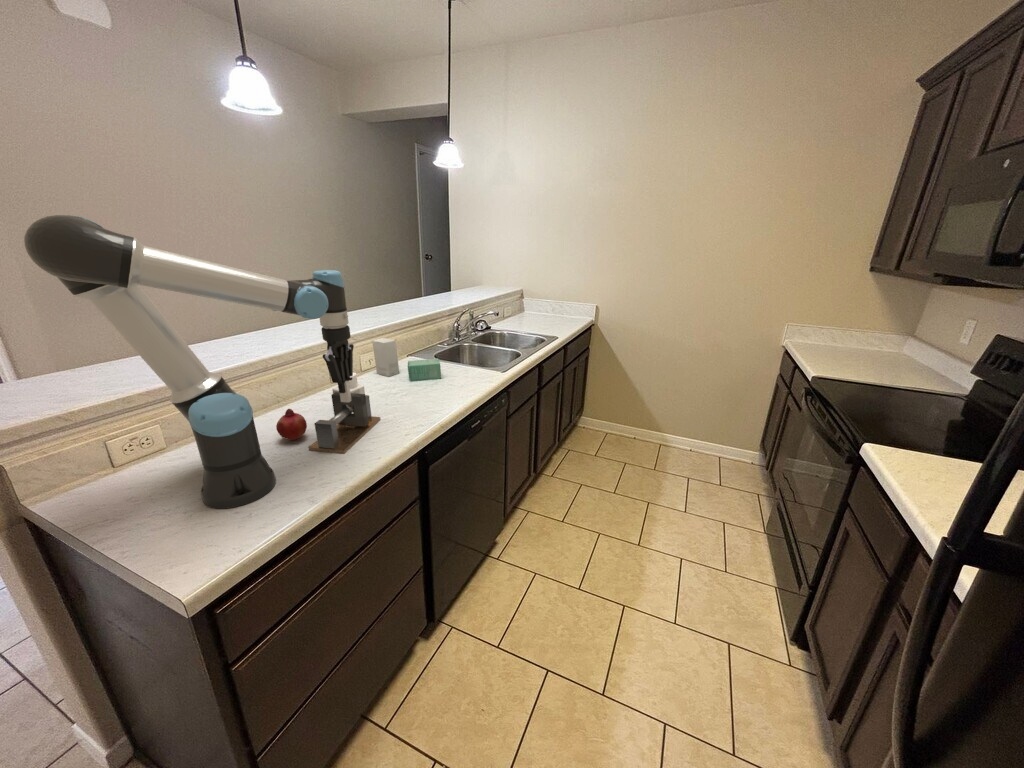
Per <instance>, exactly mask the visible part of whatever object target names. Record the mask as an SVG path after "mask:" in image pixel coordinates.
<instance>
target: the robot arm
mask: <svg viewBox="0 0 1024 768" xmlns="http://www.w3.org/2000/svg"><path fill="white" fill-rule="evenodd" d="M23 241H24V248H25V250H26V253H27V255H28V256H29V258H30V259H31V260H32V262H33V263H34V264H35V265H36V266H37V267H39V268H40V269H42V270H43V271H45V272H46V273H47V274H49V275H50V276H53V277H56V278H57V279H58V280H59V281H60V282H61V284H62V285H63V286H64V287H66V289H68V291H69V292H70V293H71V294H72V295H73V296H74V297H76V298H80V299H84V300H88V301H90V302H91V303H92V305H94V306H95V307H96V309H97V310H98V311H99V312H100V313H101V314H102V315H103V316H104V317H105V319H107V321H108V322H109V323H110V324H111V326H112V327H113V328H114V329H115V330H116V331H117V332H118V333H119V334H120V336H122V338H123V339H124V340H125V341H126V343H128V344H129V346H130V347H131V348H132V349H133V350H134V351H135V352H136V353H137V355H139V356H140V358H141V359H142V360H143V361H144V362H145V363H146V365H147V366H148V367H149V368H150V369H151V370H152V371H153V372H154V373H155V375H157V377H158V378H160V380H161V381H162V383H164V385H166V386H167V388H168V389H169V390H170V391H171V395H170V398H169V401H170V402H171V404H172V405H173V406H174V407H175V408H176V409H177V410H178V411H179V412H180V413H181V415H182V416H184V418H185V419H186V420H187V421H188V423H189V425H190V429H191V430H192V434H193V437H194V440H195V444H196V445H197V446H196V447H197V450H198V454H199V457H200V461H201V464H202V467H203V477H202V487H201V491H200V495H201V498H202V501H203V504H204V505H205V506H207V507H209V508H213V509H231V508H237V507H240V506H244V505H246V504H249V503H252V502H254V501H257V500H258V499H261V498H262V497H264V496H265V495H267V494H268V493H269V492H271V490H273V489H274V487H275V485H276V482H277V480H276V475H275V472H274V470H273V468H272V467H270V465H269V463H268V461H267V460H266V459H265V457H264V456H263V454H262V451H261V446H260V442H259V438H258V433H257V429H256V424H255V420H254V410H253V408H252V405H251V403H250V401H249V400H248V398H247V397H245V396H244V395H241V394H239V393H237V392H236V390H234V389H232V387H230V385H229V384H228V382H227V381H226V380H225V379H224V377H222V375H221V374H220V373H218V372H210V371H209V370H208V369H207V368H206V366H205V364H204V363H203V362H202V361H201V360H200V359H199V358H198V356H197V355H196V354H195V352H194V351H193V350H192V349H191V348H190V347H189V345H188V344H187V342H186V341H185V340H184V339H183V338H182V336H181V335H180V334H179V333H178V332H177V330H176V329H175V328H174V326H173V325H172V324H171V322H170V321H169V320H168V319H167V317H165V316H164V314H163V313H162V312H161V310H160V309H159V307H157V306H156V304H155V303H154V302H153V300H152V299H151V298H150V297H149V296H148V294H147V293H146V292H145V290H144V289H143V288H142V286H143V287H148V288H152V289H153V288H154V289H159V290H165V291H169V292H174V293H175V292H176V293H180V294H185V295H192V296H196V297H202V298H207V299H213V300H218V301H223V302H229V303H233V304H234V303H235V304H239V305H242V306H243V305H245V306H249V307H254V308H255V307H256V308H259V309H260V308H261V309H264V310H265V309H266V310H270V311H273V312H280V313H281V312H282V313H286V314H290V315H295V316H301V317H302V318H305V319H308V320H309V319H310V320H315V319H319V325H320V326H321V328H320V329H321V335H322V336H321V337H322V340H323V341H325V342H326V343H327V346H326V349H327V352H326V353H323V354H322V358H323V360H324V361H325V364H326V367H327V370H328V372H329V376H330V378H331V381H332V383H335V384H337V387H338V388H339V393H340V399H341V402H350V401H351V393H350V385H349V380H352V378H350V376H352V375H353V372H354V371H353V370H354V369H353V367H354V366H353V365H354V362H353V361H354V359H353V356H354V355H353V354H354V353H353V352H354V347H355V346H354V343H352V344H351V343H349V339H350V338H351V336H352V335H351V330H350V326H349V325H348V324H350V323H349V314H348V311H347V310H348V308H347V302H346V300H347V299H346V292H345V291H346V290H345V289H346V288H345V284H344V283H345V282H344V279H343V275H342V273H341V272H340V271H339V270H334V269H322V270H315V271H313V272H312V277H311V278H308V279H296V280H295V279H293V280H286V279H283V278H278V277H275V276H271V275H266V274H262V273H258V272H255V271H250V270H246V269H241V268H238V267H234V266H229V265H225V264H221V263H217V262H213V261H209V260H205V259H201V258H197V257H192V256H188V255H184V254H181V253H176V252H171V251H169V250H168V251H167V250H163V249H161V248H156V247H151V246H148V245H144V244H142V243H141V242H140V241H139V240H138V239H137V238H136V237H133V236H129V235H125V234H123V233H118V232H115V231H111V230H109V229H106V228H105V227H103V226H101V225H100V224H98V223H97V222H95V221H93V220H90V219H88V218H84V217H81V216H76V215H69V214H68V215H67V214H58V215H57V214H55V215H48V216H45V217H41V218H39V219H37V220H35V221H34V222H32V223H31V224H30V226H28V229H27V230H26V232H25V235H24V237H23Z"/></svg>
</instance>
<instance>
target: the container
mask: <svg viewBox="0 0 1024 768" xmlns="http://www.w3.org/2000/svg"><path fill="white" fill-rule="evenodd" d="M350 378H352V380H349V385H350V393H355V394H365V395H366V393H365V392H366V391H365V386H364V384H363V385H362V384H358V383H359V382H358V376H357V373H356V372H355V371H353V375H352V376H350ZM335 392H339V388H338V386H335V387H333V388H332V394H333V393H335ZM346 407H348V405H346Z"/></svg>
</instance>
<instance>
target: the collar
mask: <svg viewBox="0 0 1024 768" xmlns="http://www.w3.org/2000/svg"><path fill="white" fill-rule="evenodd" d="M365 395H366V393H365V394H355V393H351V401H350V402H341V399H340V393H339V392H335V393H333V392H332V394H331V401H332V408H333V415H334V416H335V415H337V414H338V413H339V412H341V411H342V410H344V409H345V408H346V405H353V406H354V413H355V414H353V412H352V413H351V414H350V415H349V416H347V417H346V418H345V419H344V420H342V421H341V422H340V423H338V424H342V425H354V426H366V425H367V424H368V423H369V422H368V413H367V405H366V397H365ZM334 416H333V417H334Z"/></svg>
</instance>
